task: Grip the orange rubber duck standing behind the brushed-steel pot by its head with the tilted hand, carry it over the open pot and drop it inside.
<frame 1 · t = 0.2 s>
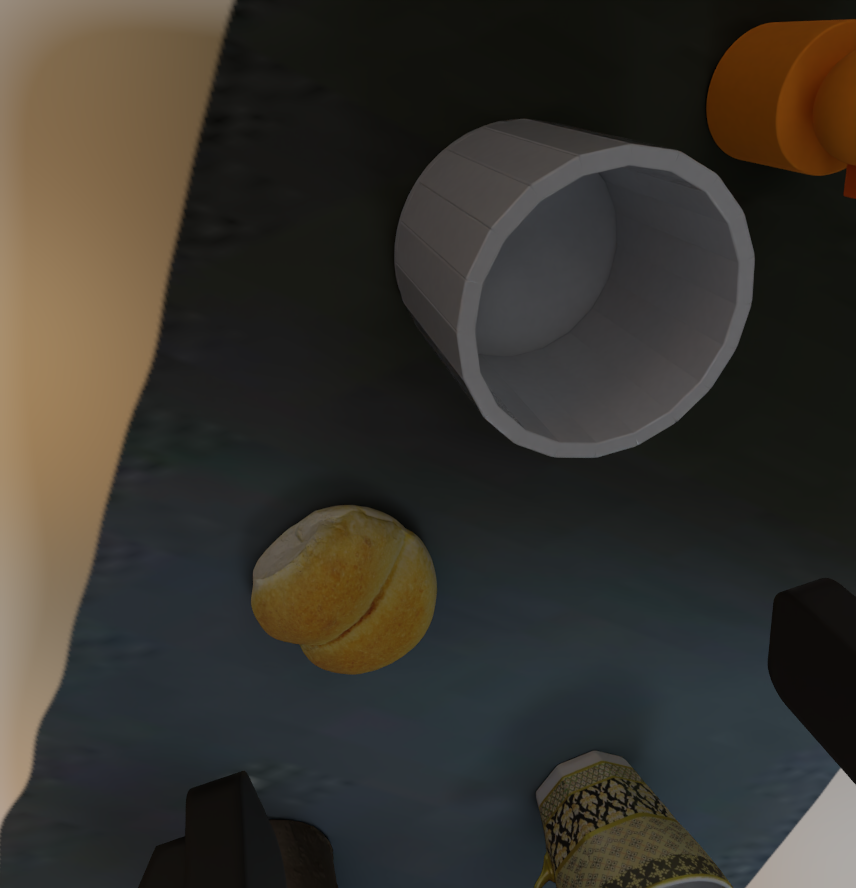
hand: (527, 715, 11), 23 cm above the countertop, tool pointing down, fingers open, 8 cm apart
pillar candle: (253, 868, 46), on the countertop
duck: (761, 94, 31), on the countertop
bread roll: (341, 572, 37), on the countertop
pot: (512, 250, 31), on the countertop
ceramic cup: (559, 790, 50), on the countertop
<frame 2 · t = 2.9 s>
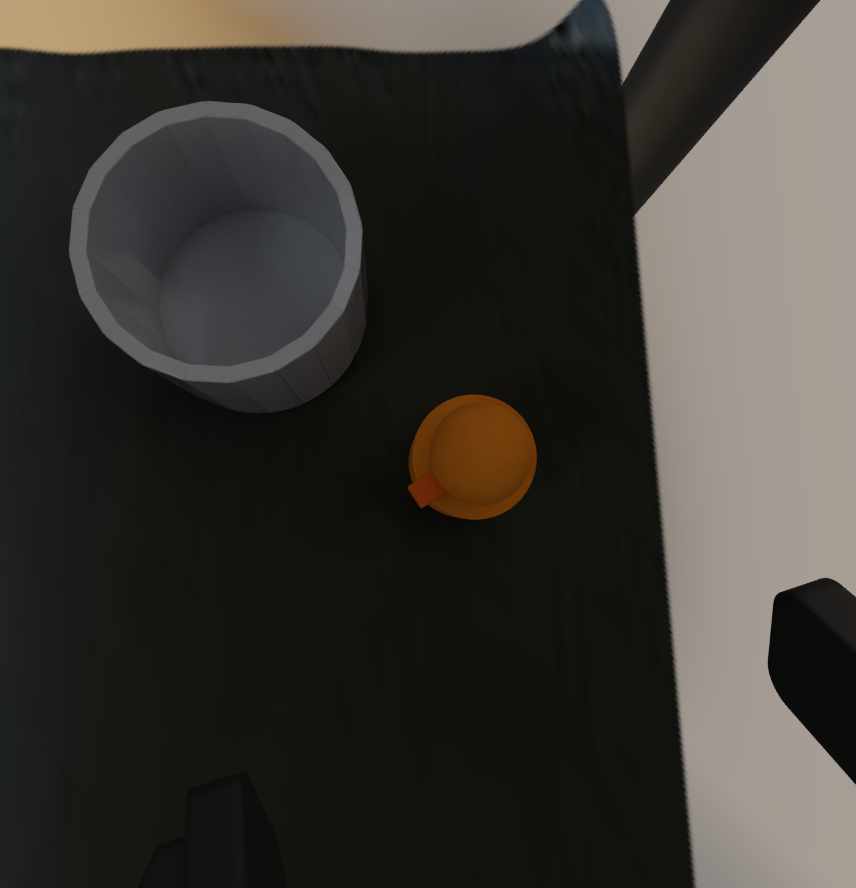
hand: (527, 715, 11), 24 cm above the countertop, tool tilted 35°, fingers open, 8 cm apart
duck: (463, 462, 35), on the countertop
pot: (259, 306, 35), on the countertop
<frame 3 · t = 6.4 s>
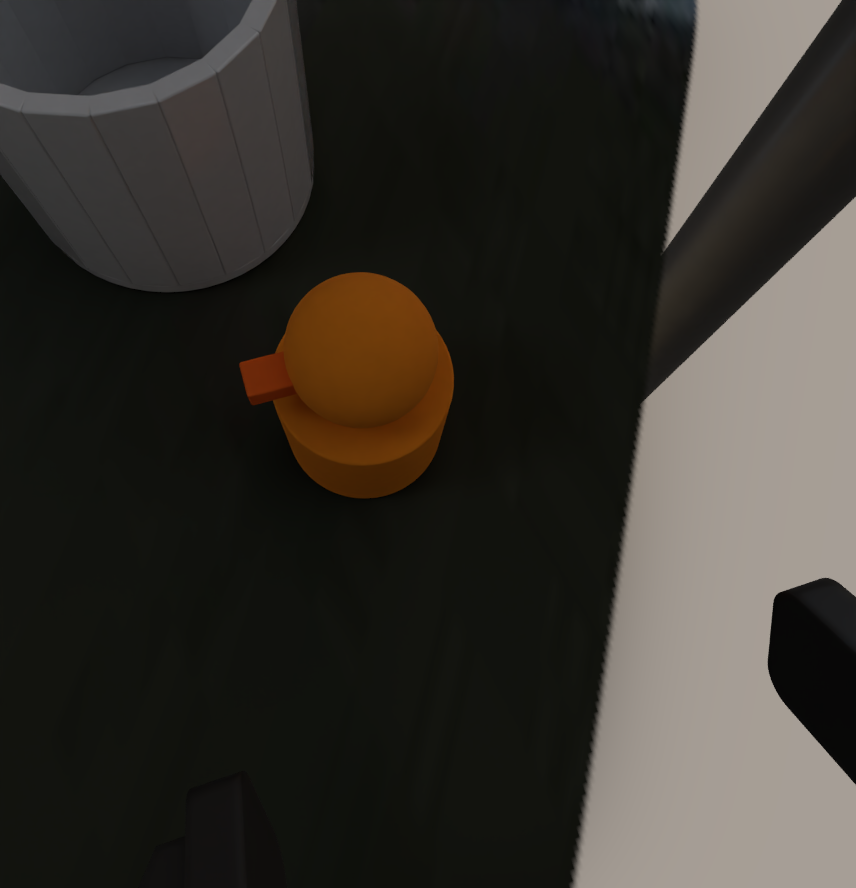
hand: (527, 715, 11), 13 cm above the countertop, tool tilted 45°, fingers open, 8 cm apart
duck: (365, 424, 25), on the countertop
pot: (175, 168, 28), on the countertop
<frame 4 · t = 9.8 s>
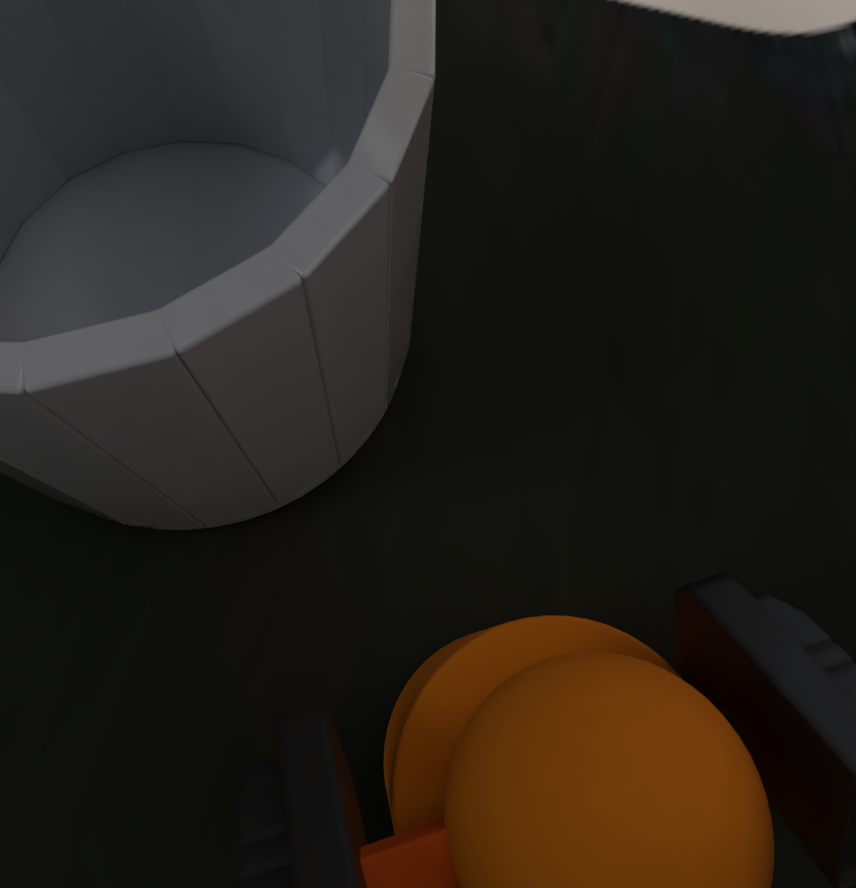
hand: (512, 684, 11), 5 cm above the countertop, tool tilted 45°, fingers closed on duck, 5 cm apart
duck: (508, 757, 15), on the countertop, touching gripper
pot: (195, 318, 18), on the countertop
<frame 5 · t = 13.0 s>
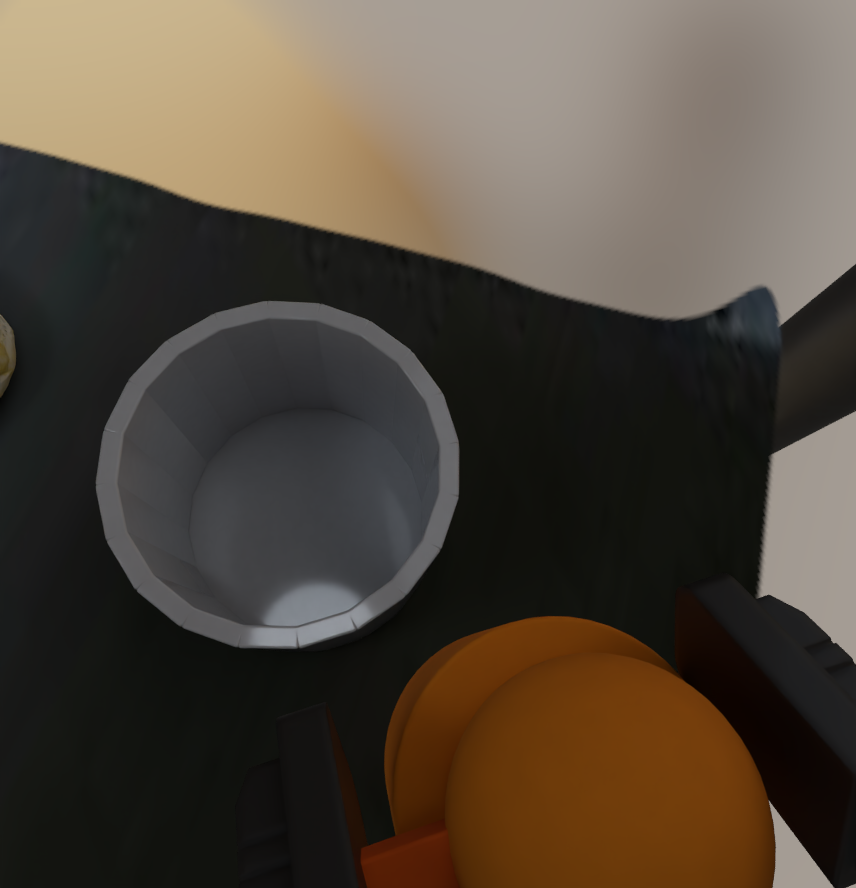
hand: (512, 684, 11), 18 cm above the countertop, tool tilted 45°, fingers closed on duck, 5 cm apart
duck: (509, 758, 15), point 13 cm above the countertop, touching gripper
pot: (308, 519, 30), on the countertop
when the fingers open (13 cm above the countertop, at t = 16.6 s): duck drops 8 cm, resting on pot.
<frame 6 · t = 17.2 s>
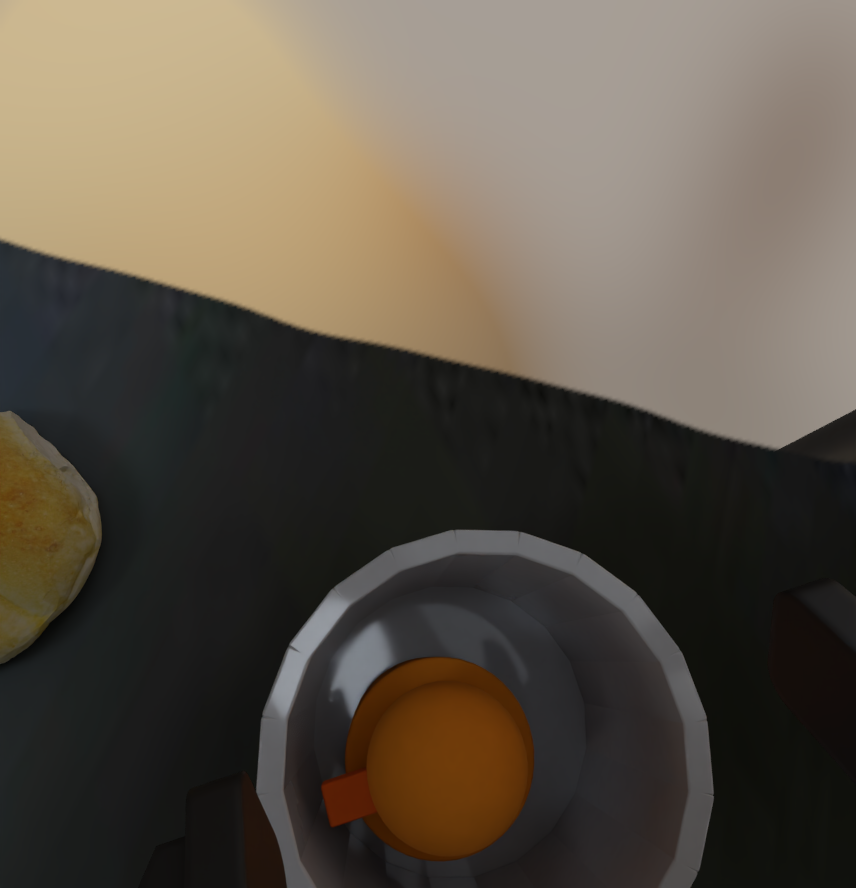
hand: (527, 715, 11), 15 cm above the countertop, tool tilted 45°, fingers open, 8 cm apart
duck: (429, 739, 25), resting on pot
pot: (449, 723, 25), on the countertop
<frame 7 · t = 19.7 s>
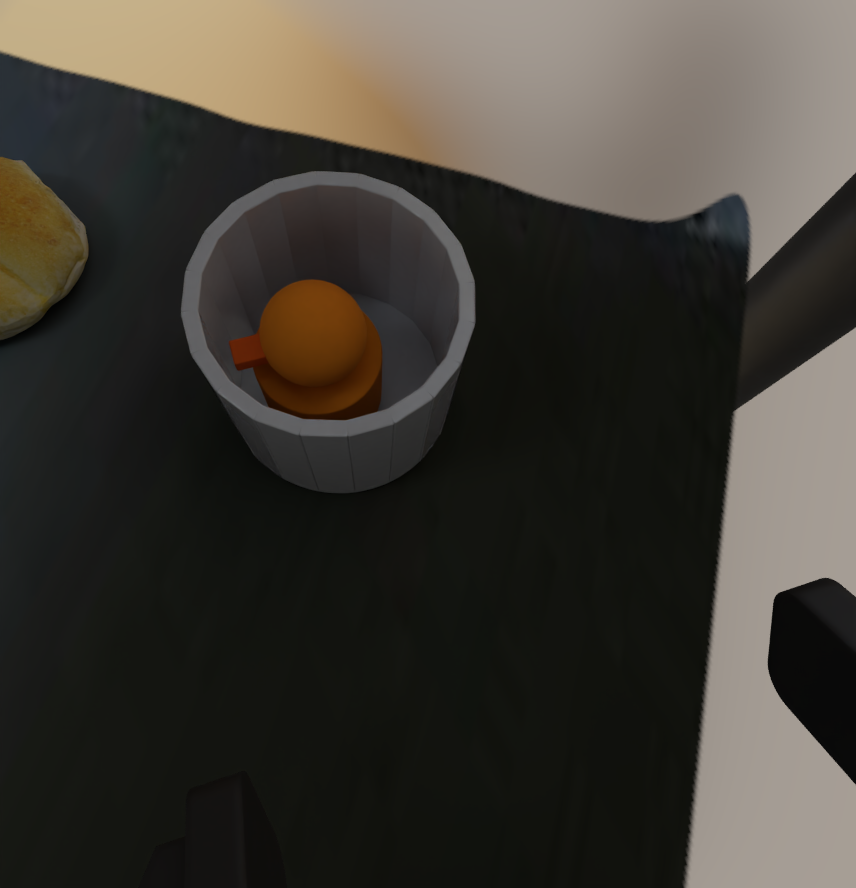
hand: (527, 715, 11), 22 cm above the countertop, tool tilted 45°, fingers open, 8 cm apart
duck: (324, 391, 34), resting on pot
pot: (341, 386, 35), on the countertop
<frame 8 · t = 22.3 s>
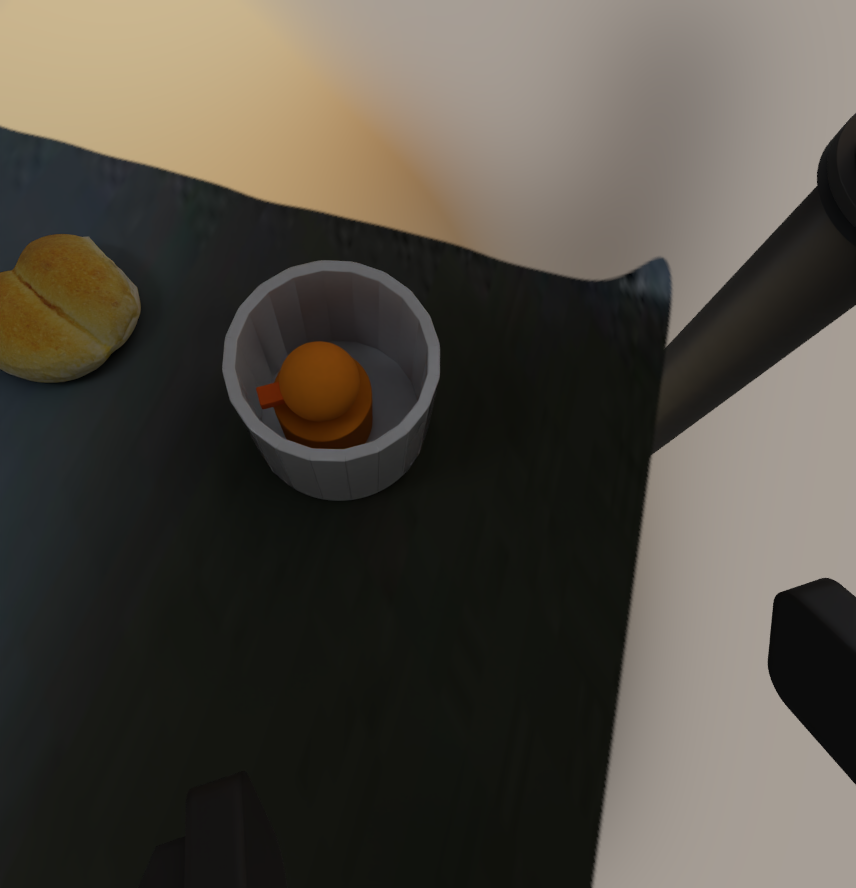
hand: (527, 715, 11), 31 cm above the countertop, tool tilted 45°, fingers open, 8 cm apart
duck: (327, 420, 43), resting on pot
bread roll: (67, 318, 45), on the countertop
pot: (341, 415, 44), on the countertop
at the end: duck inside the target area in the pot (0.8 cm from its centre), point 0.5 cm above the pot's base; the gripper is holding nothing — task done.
